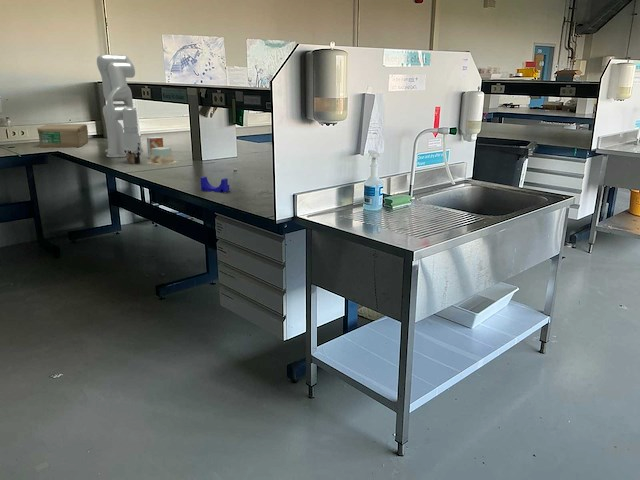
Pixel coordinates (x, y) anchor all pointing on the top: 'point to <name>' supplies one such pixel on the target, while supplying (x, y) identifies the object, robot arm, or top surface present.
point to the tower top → (161, 151)
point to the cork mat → (163, 164)
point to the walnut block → (131, 158)
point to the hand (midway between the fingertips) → (133, 162)
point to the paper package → (63, 135)
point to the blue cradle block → (207, 187)
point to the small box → (153, 143)
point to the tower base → (161, 159)
